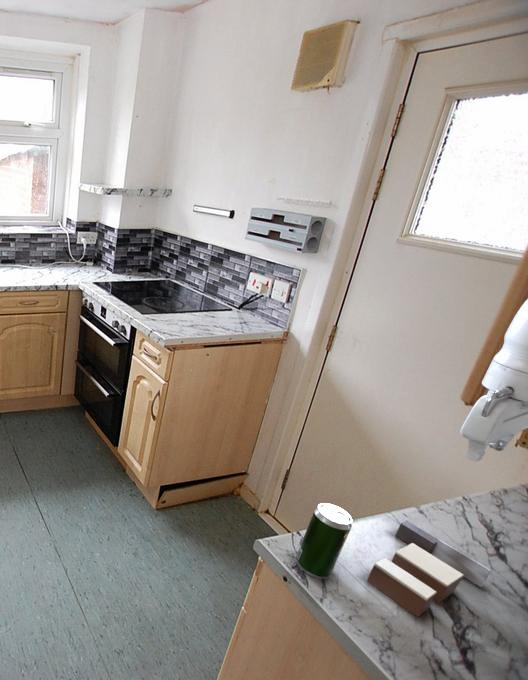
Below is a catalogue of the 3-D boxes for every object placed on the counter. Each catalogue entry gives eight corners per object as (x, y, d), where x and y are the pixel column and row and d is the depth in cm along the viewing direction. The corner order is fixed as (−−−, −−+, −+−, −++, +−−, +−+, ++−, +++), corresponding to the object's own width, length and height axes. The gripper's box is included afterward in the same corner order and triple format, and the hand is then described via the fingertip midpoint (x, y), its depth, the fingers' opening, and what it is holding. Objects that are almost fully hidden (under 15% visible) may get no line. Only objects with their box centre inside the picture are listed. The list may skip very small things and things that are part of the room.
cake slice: (426, 609, 74) (437, 591, 73) (417, 617, 73) (427, 598, 71) (376, 574, 80) (384, 557, 79) (366, 580, 79) (374, 562, 78)
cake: (453, 592, 78) (463, 574, 77) (437, 603, 76) (447, 585, 74) (404, 559, 84) (412, 542, 83) (387, 568, 82) (396, 551, 81)
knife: (484, 585, 80) (494, 568, 79) (478, 589, 79) (488, 572, 78) (400, 533, 91) (407, 518, 90) (394, 536, 90) (401, 520, 89)
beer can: (297, 573, 79) (320, 518, 75) (292, 551, 84) (313, 498, 80) (333, 585, 77) (358, 529, 73) (326, 561, 82) (348, 508, 78)
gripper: (521, 401, 69) (480, 476, 74) (570, 384, 78) (531, 452, 83) (468, 383, 75) (434, 454, 79) (520, 369, 84) (486, 434, 88)
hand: (484, 453), depth 81 cm, fingers open, 8 cm apart
